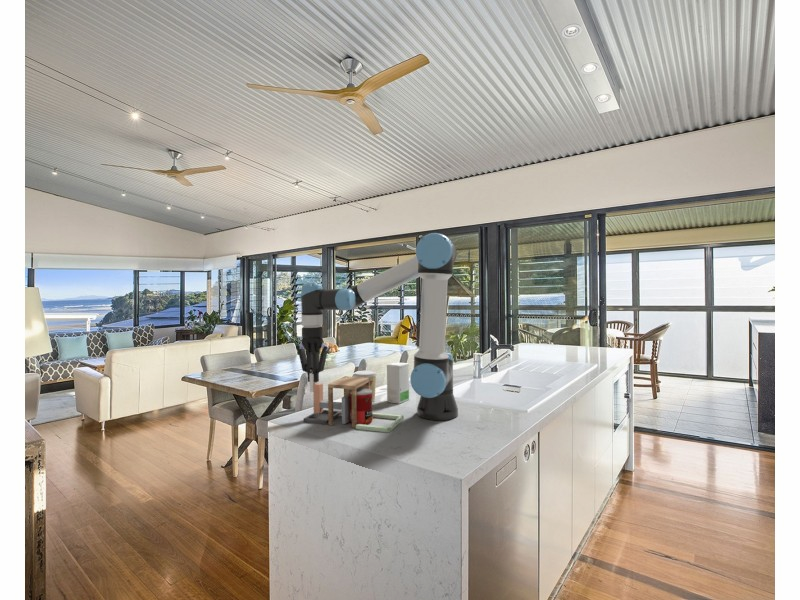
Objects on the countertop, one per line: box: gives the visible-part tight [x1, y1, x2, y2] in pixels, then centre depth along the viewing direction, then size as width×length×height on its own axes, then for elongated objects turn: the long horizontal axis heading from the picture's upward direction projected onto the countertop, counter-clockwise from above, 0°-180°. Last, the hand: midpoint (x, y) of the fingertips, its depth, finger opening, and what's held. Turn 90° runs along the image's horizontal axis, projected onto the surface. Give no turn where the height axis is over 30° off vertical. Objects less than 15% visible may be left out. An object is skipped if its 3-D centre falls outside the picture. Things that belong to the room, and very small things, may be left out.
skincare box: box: [386, 361, 410, 405], centre depth 174 cm, size 8×7×16 cm
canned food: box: [349, 388, 374, 425], centre depth 147 cm, size 8×8×11 cm
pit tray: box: [303, 409, 342, 425], centre depth 151 cm, size 9×12×1 cm
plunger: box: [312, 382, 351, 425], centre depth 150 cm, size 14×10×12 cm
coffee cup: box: [353, 369, 377, 403], centre depth 174 cm, size 9×9×12 cm
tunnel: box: [327, 375, 370, 429], centre depth 148 cm, size 10×13×14 cm
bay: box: [355, 412, 405, 433], centre depth 145 cm, size 12×15×1 cm
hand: (313, 390), depth 152 cm, fingers closed
